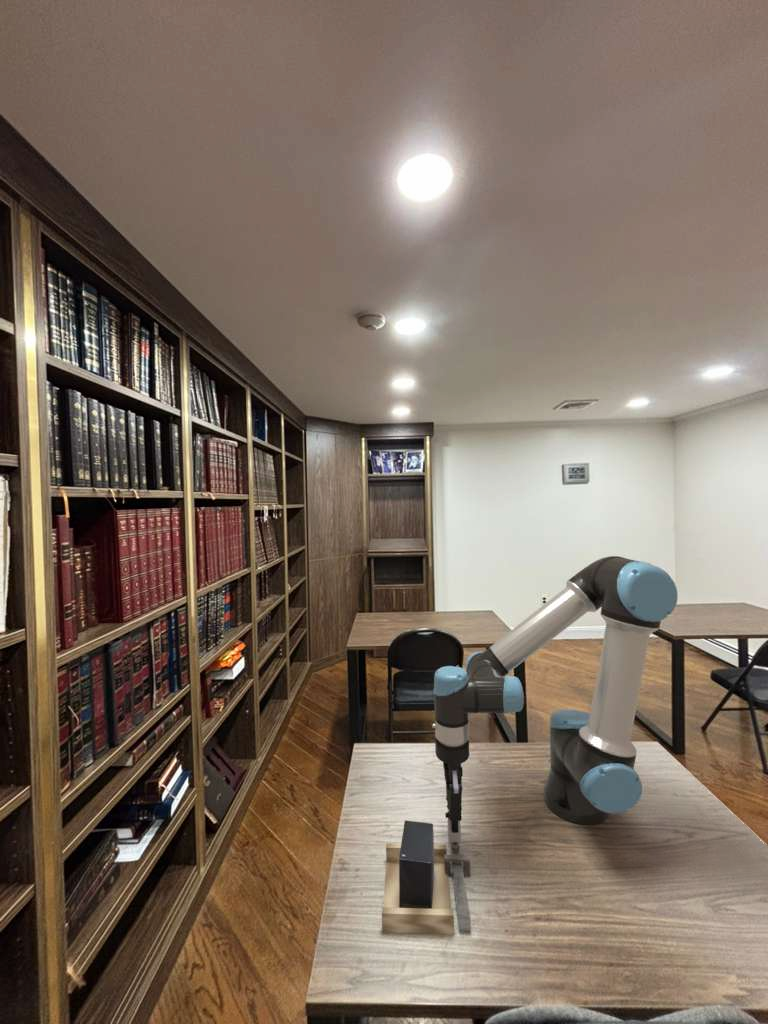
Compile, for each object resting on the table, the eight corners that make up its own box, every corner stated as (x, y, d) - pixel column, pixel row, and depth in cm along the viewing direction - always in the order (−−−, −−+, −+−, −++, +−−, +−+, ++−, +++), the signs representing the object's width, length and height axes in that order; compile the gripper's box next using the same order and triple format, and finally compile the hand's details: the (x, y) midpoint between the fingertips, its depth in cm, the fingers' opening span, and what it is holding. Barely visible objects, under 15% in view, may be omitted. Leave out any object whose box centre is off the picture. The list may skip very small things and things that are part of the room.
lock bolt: (459, 853, 97) (458, 837, 97) (470, 932, 79) (470, 913, 79) (449, 852, 98) (449, 837, 97) (459, 931, 80) (459, 913, 80)
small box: (433, 918, 82) (432, 862, 82) (398, 913, 83) (397, 859, 83) (435, 871, 92) (434, 821, 92) (404, 867, 93) (403, 819, 93)
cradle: (467, 860, 95) (467, 844, 95) (479, 935, 79) (479, 915, 79) (386, 859, 96) (386, 842, 96) (382, 932, 80) (381, 912, 80)
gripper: (433, 723, 105) (435, 820, 106) (437, 755, 92) (440, 865, 93) (464, 723, 105) (466, 820, 105) (473, 755, 92) (476, 865, 92)
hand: (454, 841), depth 99 cm, fingers closed
